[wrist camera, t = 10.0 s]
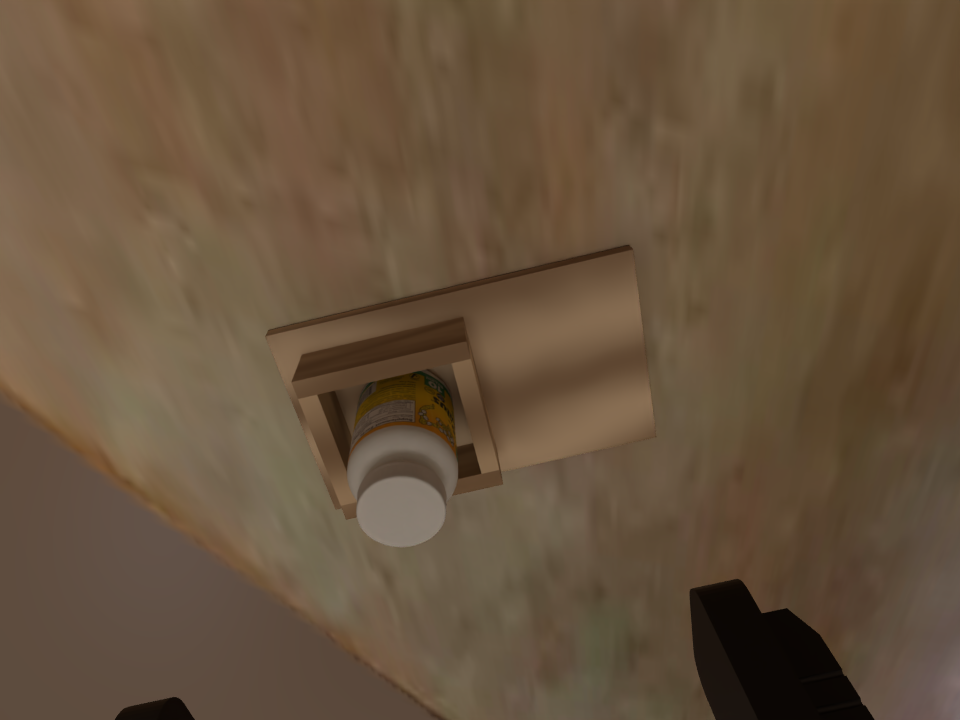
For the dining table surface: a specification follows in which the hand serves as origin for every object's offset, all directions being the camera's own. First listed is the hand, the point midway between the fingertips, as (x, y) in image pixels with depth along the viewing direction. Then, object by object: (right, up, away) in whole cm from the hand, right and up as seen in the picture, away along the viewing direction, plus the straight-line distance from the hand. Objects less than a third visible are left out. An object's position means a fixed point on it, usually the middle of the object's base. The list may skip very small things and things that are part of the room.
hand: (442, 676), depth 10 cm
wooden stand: (0, +4, +28) cm, 29 cm away
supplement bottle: (-4, +3, +28) cm, 28 cm away
